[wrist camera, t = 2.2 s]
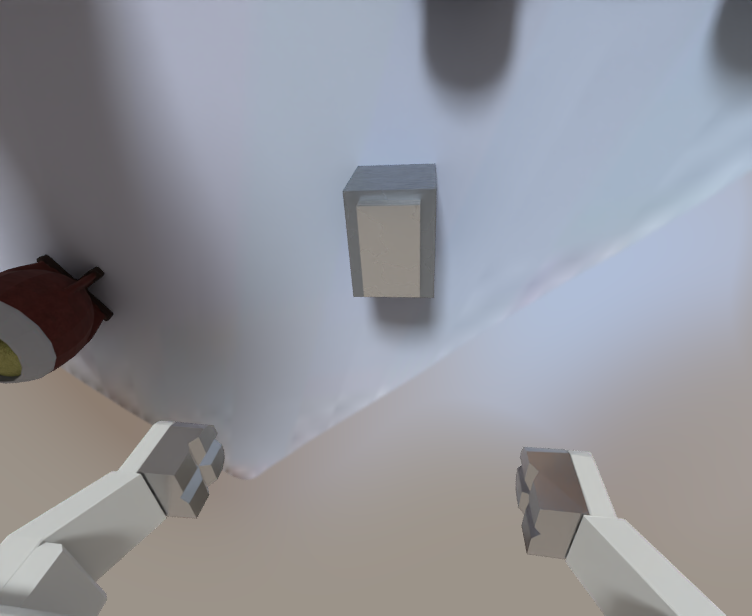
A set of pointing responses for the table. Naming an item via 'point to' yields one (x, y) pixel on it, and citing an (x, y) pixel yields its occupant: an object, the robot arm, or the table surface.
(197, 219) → the table surface
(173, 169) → the table surface
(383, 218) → the two-tone metal block
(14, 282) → the mate gourd
